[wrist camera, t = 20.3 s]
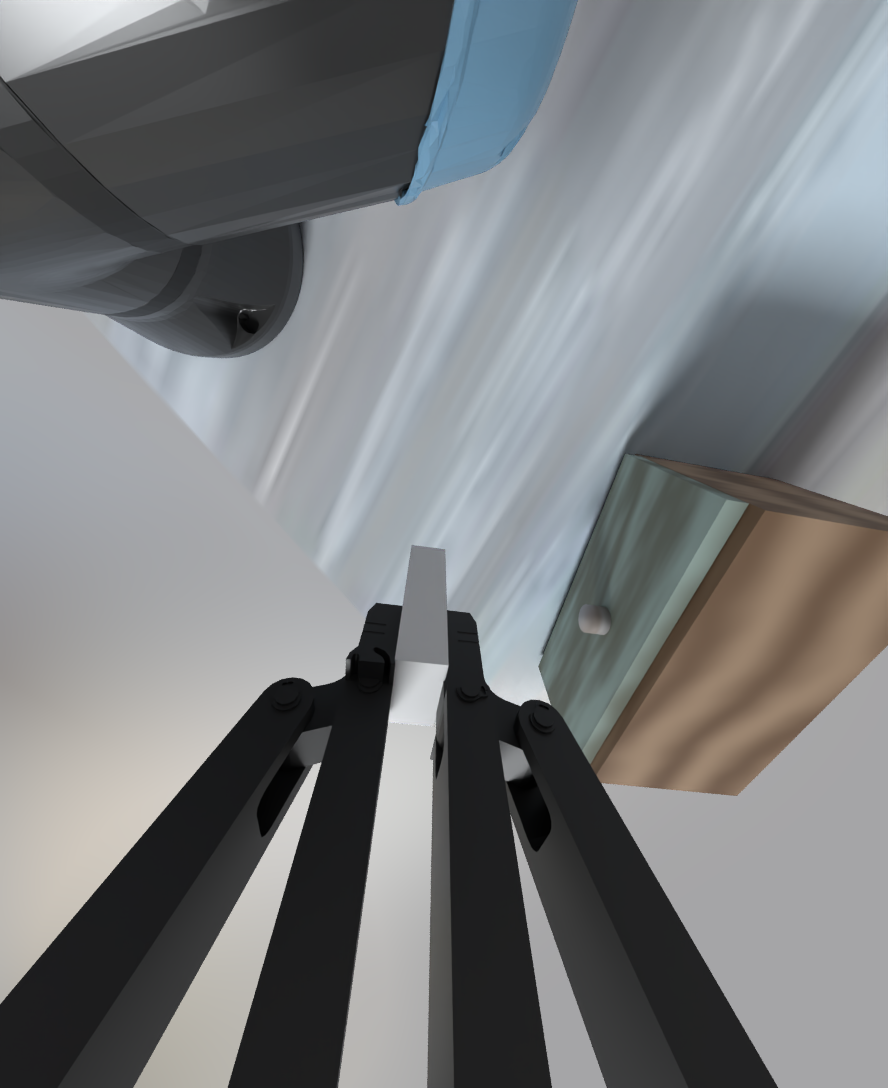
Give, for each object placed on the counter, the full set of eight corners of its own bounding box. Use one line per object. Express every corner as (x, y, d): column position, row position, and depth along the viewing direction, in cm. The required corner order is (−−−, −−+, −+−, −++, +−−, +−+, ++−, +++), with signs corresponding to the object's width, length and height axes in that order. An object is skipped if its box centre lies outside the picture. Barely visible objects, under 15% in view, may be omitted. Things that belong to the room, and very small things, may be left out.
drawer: (525, 664, 42) (554, 766, 31) (607, 450, 30) (700, 495, 19) (645, 679, 43) (713, 782, 32) (768, 479, 31) (938, 536, 21)
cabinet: (547, 661, 43) (591, 781, 30) (635, 453, 31) (765, 510, 19) (652, 674, 44) (736, 795, 31) (774, 479, 32) (984, 548, 20)
